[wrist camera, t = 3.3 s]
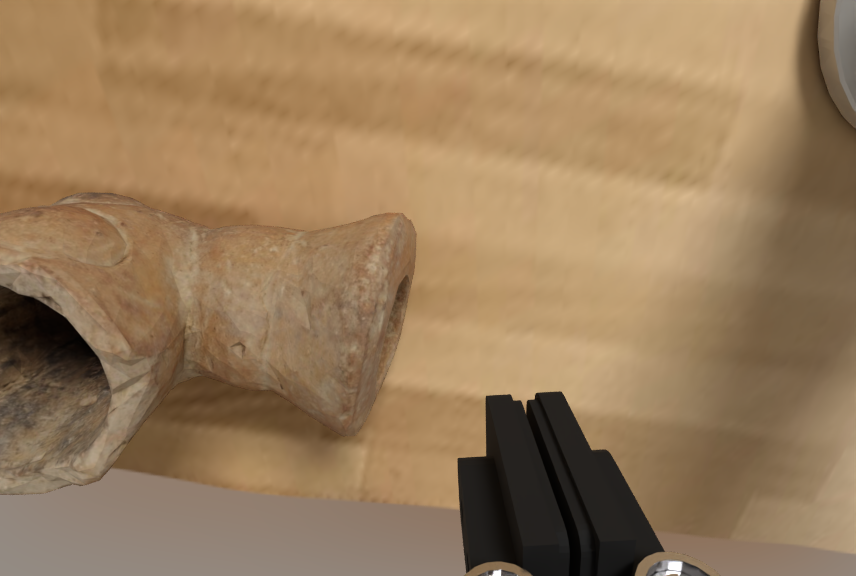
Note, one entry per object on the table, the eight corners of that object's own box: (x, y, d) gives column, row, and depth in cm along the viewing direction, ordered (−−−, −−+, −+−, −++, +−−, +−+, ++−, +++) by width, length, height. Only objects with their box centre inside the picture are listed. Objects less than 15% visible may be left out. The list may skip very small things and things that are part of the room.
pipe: (409, 367, 25) (397, 530, 16) (86, 349, 24) (-125, 504, 15) (419, 188, 22) (412, 258, 12) (46, 165, 21) (-255, 218, 12)
